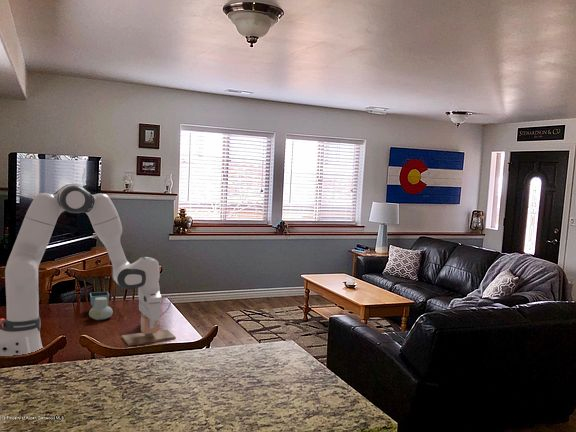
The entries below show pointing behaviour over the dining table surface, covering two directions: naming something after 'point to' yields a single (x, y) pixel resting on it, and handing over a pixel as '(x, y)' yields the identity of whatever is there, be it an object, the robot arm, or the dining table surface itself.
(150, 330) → the peach block
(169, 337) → the post stand
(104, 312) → the air freshener
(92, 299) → the flower pot
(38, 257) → the robot arm
